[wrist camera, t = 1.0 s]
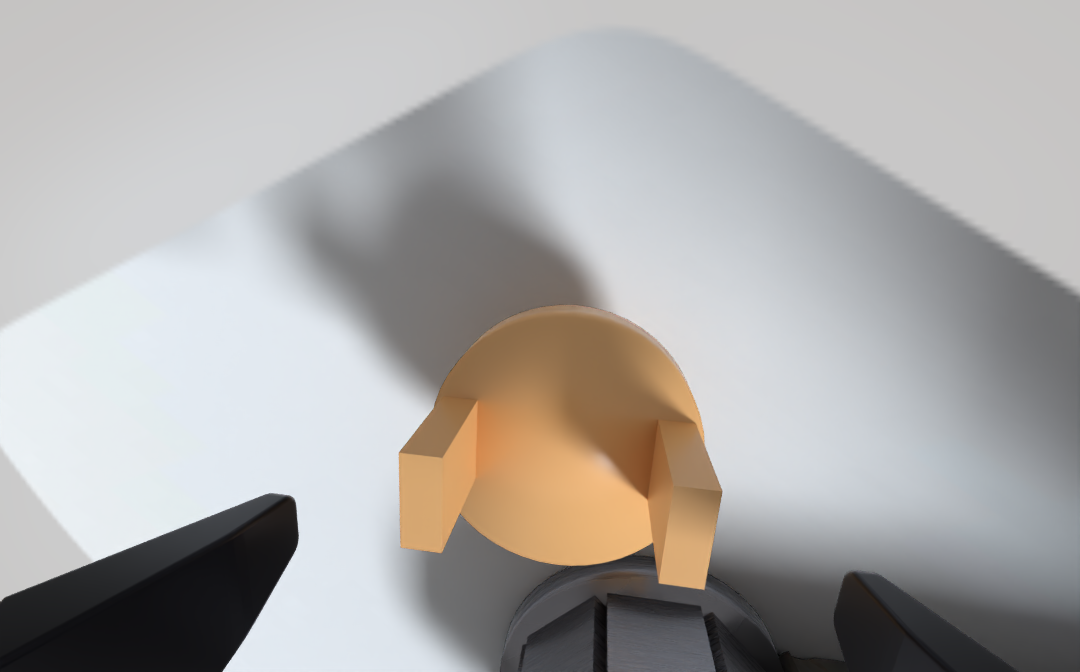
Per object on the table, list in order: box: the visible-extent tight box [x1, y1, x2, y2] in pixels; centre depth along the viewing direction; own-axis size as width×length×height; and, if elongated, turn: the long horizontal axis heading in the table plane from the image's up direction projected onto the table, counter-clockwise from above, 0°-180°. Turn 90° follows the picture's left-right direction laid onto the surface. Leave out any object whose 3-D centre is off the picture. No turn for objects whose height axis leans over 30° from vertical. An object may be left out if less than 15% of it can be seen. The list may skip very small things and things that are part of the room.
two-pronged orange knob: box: [399, 305, 722, 590], centre depth 12 cm, size 6×6×6 cm
